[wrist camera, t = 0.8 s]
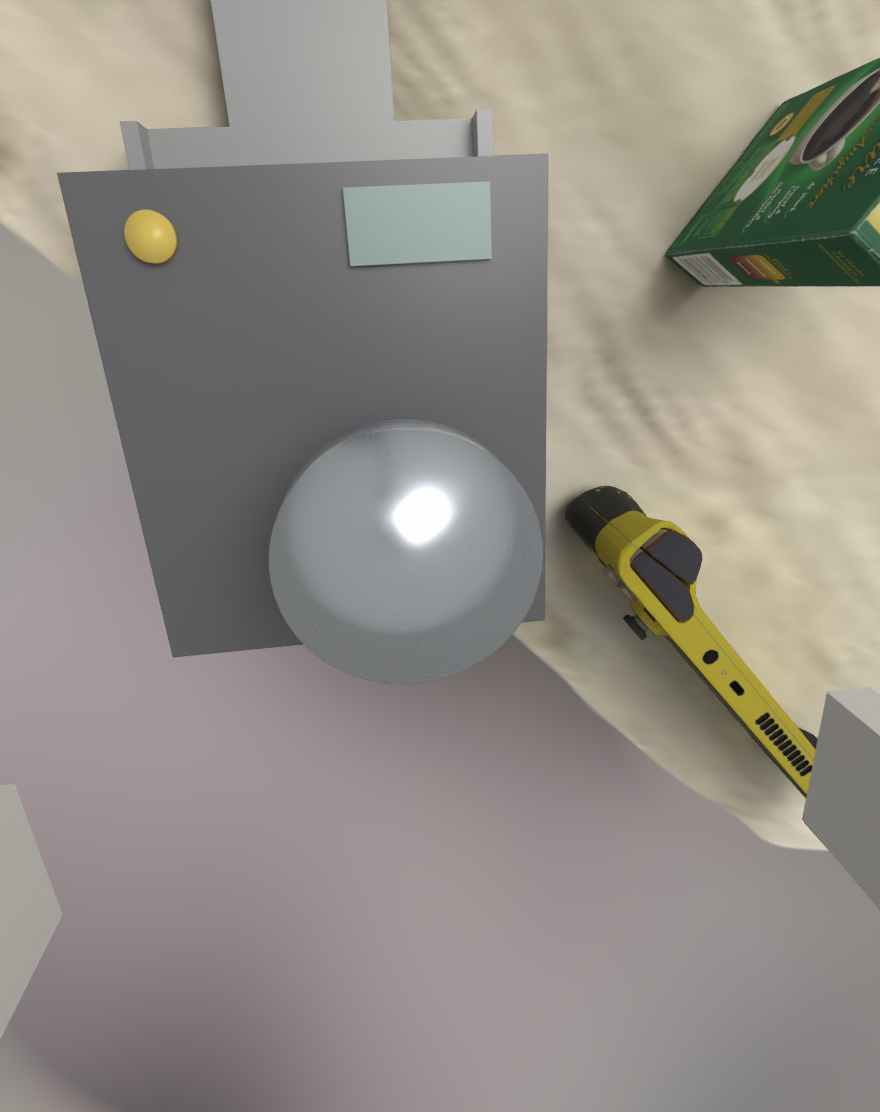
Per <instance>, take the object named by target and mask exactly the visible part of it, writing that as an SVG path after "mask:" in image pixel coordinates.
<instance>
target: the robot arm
mask: <svg viewBox="0 0 880 1112" xmlns="http://www.w3.org/2000/svg"><path fill="white" fill-rule="evenodd" d="M802 820H803V821H804V822H805V823H806V825H807V826H808V827H809V828H810V829H811V830H812V832H813V833H814V834H815V835H816V836H817V837H818V839H819V840H820V841H821V842H822V843H823V844H824V846H825V847H826V848H827V849H828V850H829V851H830V853H831V854H832V855H833V856H834V857H835V858H836V860H837V861H838V862H839V863H840V864H841V865H842V867H843V868H844V869H845V870H846V871H847V872H848V874H849V875H850V876H851V877H852V878H853V879H854V881H856V883H857V884H858V885H859V886H860V887H861V889H862V890H863V891H864V892H865V893H866V895H867V896H868V897H869V898H870V899H871V900H872V902H873V903H874V904H875V905H876V906H877V907H878V909H879V910H880V695H879V694H878V693H876V692H875V691H874V690H872V689H871V688H870V687H869V688H860V689H851V690H842V691H833V692H827V695H826V700H825V705H824V710H823V715H822V721H821V726H820V731H819V736H818V741H817V746H816V751H815V756H814V761H813V766H812V771H811V777H810V782H809V787H808V792H807V797H806V802H805V807H804V812H803V817H802ZM61 917H62V911H61V909H60V906H59V903H58V901H57V898H56V895H55V892H54V890H53V887H52V884H51V882H50V879H49V876H48V874H47V871H46V868H45V865H44V863H43V860H42V857H41V854H40V852H39V849H38V846H37V844H36V841H35V838H34V836H33V833H32V830H31V828H30V825H29V822H28V819H27V816H26V814H25V811H24V809H23V806H22V803H21V801H20V798H19V795H18V792H17V789H16V787H15V784H14V783H12V784H3V785H0V1039H1V1037H2V1035H3V1033H4V1031H5V1029H6V1027H7V1025H8V1023H9V1021H10V1019H11V1017H12V1015H13V1013H14V1011H15V1009H16V1007H17V1005H18V1003H19V1001H20V999H21V997H22V995H23V993H24V991H25V989H26V987H27V985H28V983H29V981H30V979H31V977H32V975H33V973H34V971H35V969H36V967H37V965H38V963H39V961H40V959H41V957H42V955H43V953H44V951H45V949H46V947H47V945H48V943H49V941H50V939H51V937H52V935H53V933H54V931H55V929H56V927H57V925H58V923H59V921H60V919H61Z"/></svg>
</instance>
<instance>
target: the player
mask: <svg viewBox="0 0 880 1112" xmlns="http://www.w3.org/2000/svg"><path fill="white" fill-rule="evenodd" d="M57 175H58V179H59V183H60V187H61V192H62V196H63V200H64V204H65V208H66V212H67V217H68V221H69V225H70V229H71V233H72V238H73V242H74V246H75V250H76V254H77V258H78V263H79V267H80V271H81V275H82V279H83V284H84V288H85V292H86V296H87V300H88V304H89V309H90V313H91V317H92V321H93V325H94V329H95V334H96V338H97V342H98V346H99V350H100V355H101V359H102V363H103V367H104V371H105V375H106V380H107V384H108V388H109V392H110V396H111V401H112V405H113V408H114V413H115V417H116V421H117V426H118V430H119V434H120V438H121V442H122V446H123V451H124V455H125V459H126V463H127V467H128V472H129V476H130V480H131V484H132V488H133V492H134V497H135V501H136V505H137V509H138V513H139V518H140V522H141V526H142V530H143V534H144V538H145V543H146V547H147V551H148V555H149V559H150V564H151V568H152V572H153V576H154V580H155V584H156V589H157V593H158V597H159V601H160V605H161V610H162V614H163V618H164V622H165V626H166V630H167V635H168V639H169V643H170V646H171V651H172V656H173V657H181V656H191V655H200V654H211V653H221V652H231V651H241V650H251V649H261V648H271V647H281V646H291V645H301V644H303V643H302V642H301V641H300V640H299V639H298V638H297V636H296V635H295V634H294V632H293V631H292V630H291V628H290V627H289V626H288V624H287V622H286V620H285V619H284V617H283V615H282V613H281V612H280V609H279V607H278V604H277V602H276V599H275V597H274V593H273V589H272V585H271V581H270V572H269V545H270V540H271V535H272V530H273V526H274V524H275V521H276V518H277V515H278V512H279V510H280V507H281V505H282V503H283V500H284V498H285V495H286V493H287V491H288V489H289V487H290V486H291V484H292V482H293V480H294V478H295V477H296V476H297V474H298V473H299V471H300V470H301V469H302V467H303V466H304V465H305V464H306V463H307V462H308V461H309V460H310V459H311V457H312V456H313V455H314V454H315V453H316V452H318V451H319V450H320V449H321V448H323V447H324V446H325V445H327V444H328V443H329V442H331V441H332V440H334V439H336V438H337V437H339V436H341V435H342V434H344V433H346V432H349V431H351V430H353V429H356V428H358V427H360V426H364V425H368V424H371V423H375V422H379V421H386V420H393V419H416V420H424V421H431V422H435V423H439V424H443V425H447V426H449V427H452V428H454V429H457V430H459V431H461V432H464V433H465V434H467V435H469V436H471V437H472V438H474V439H476V440H477V441H479V442H480V443H481V444H483V445H484V446H485V447H487V448H488V449H489V450H490V451H492V452H493V454H494V455H495V456H496V457H497V458H498V459H499V460H500V461H501V462H502V463H503V464H504V465H505V466H506V467H507V469H508V470H509V471H510V472H511V473H512V474H513V475H514V477H515V478H516V479H517V481H518V482H519V483H520V485H521V486H522V488H523V489H524V490H525V492H526V494H527V496H528V498H529V500H530V501H531V503H532V505H533V508H534V510H535V513H536V516H537V519H538V522H539V526H540V531H541V536H542V547H543V560H542V572H541V576H540V581H539V586H538V589H537V592H536V594H535V597H534V600H533V602H532V604H531V606H530V608H529V610H528V612H527V614H526V616H525V618H524V619H523V621H522V622H531V621H541V620H544V617H545V493H546V369H547V245H548V154H528V155H503V156H477V157H452V158H426V159H400V160H375V161H349V162H324V163H298V164H273V165H247V166H222V167H196V168H170V169H145V170H119V171H94V172H68V173H57Z"/></svg>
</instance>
